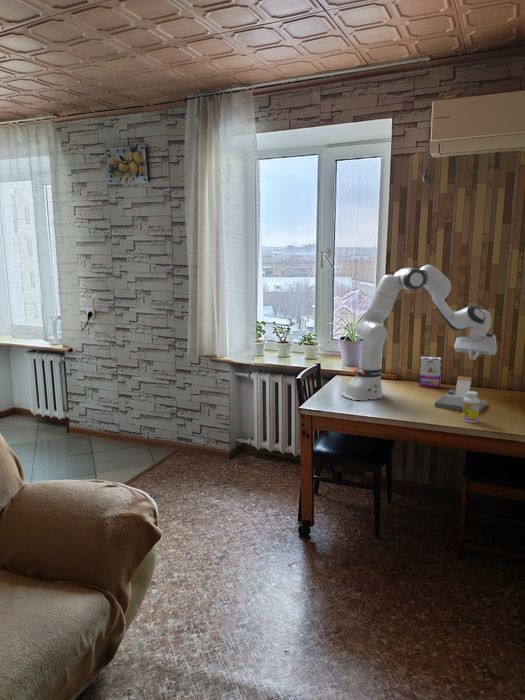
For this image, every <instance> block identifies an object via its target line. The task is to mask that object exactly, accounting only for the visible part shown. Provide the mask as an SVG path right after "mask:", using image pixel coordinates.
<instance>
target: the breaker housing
mask: <svg viewBox="0 0 525 700" xmlns="http://www.w3.org/2000/svg"><path fill="white" fill-rule="evenodd" d="M455 391H456V389H449V390H448V391H447V392H448V393H445V394H443V396H441V397H440V398H439V399H438V400H436V401H435V402H434V407H436V408H442V409H447V410H454V411H461V412H463V399H464V398H465V397H463V396H456V395H455ZM479 400H480V399H479ZM486 406H487V400H480V404H479V414H480V413H481V412H482V411H483V409H485V407H486Z"/></svg>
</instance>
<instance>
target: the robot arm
mask: <svg viewBox="0 0 525 700" xmlns="http://www.w3.org/2000/svg"><path fill="white" fill-rule="evenodd" d="M422 287H424V288H425V289H426V291H427V292H429V294H430V295H431V296H430V300H431V303H432V304H433V306H434V307H435V308H436V310H437V311H438V312H439V313H440V315H441V317H442V318H443V319H444V321H445V322H446V324H447V326H448V327H449V328H450V329H451V330H452V331H455V332H458V331H461V330H463V329H465V328H469V327H470V330H469V335H468V336H466V335H459V336H457V337H455V338H456V339H455V343H454V346H453V348H454V351H455V352H457V353H458V352H459V353H468V355H469V356H468V357H469V360H473V361H474V360H477V358H478V357H479V356H480V355H489V356H490V355H491V356H495V355H497V351H498V348H497V346H498V345H497V337H496V334H494V333H490V332H489V330H490V329H491V326H492V325H491V324H492V315H491V312H490V311H488V310H486V309H481V308H479V307H477V306H475V305H468V306H467V307H464V308H461V309H459V310H457V311H453V310H452V309H451V307H450V306H449V304H448V303H447V302H446V300H445V299H446V298H447V297H448V296H449V295H450V293H451V290H452V283H451V281H450V279H449V278H448V277H447V276H446V275H445V274H444V273H443V272H441V271H440V270H439V269H438V268H436V267H435V266H433V265H432V264H425V265H423V266H421V267H420V268H413V267H401V268H398V269H397V270H396V271H395V272H394V273H393V274H385V275H383V276H382V278H381V279H380V281H379V283H378V284H377V286H376V289H375V291H374V294H373V296H372V299H371V301H370V304H369V306H368V307H367V310H366V311H365V313H364V315H362V316H363V317H361V320H360V321H359V322H358V323H357V325H356V327H355V331H356V334H357V336H358V337H359V338H360V339H362V340H363V341H362V347H361V350H360V352H359V364H358V365H359V367H358V369H356V368H353V369H352V373H353V374H354V373H355V376H354V377H353V378H352V379H351V380H350V381H349V382H348V383H347V384H346V385H345V391H343V392H341V395H342V396H341V395H340V396H341V397H343V396H344V397H343V398H345V397H346V398H345V399H347V398H348V400H351V399H352V401H355V400H361V401H369V400H368V399H370V400H377V399H378V398H379V399H383V398H384V392H383V387H382V379H381V378H382V375H383V374H382V373H383V372H382V370H383V369H382V355H383V354H382V352H383V350H384V349H383V348H384V345H385V342H386V340H387V338H388V330H387V328H386V327H385V326H384V325H383V323H384V322H385V320H386V319H387V317H388V316H389V315H390V314H391V312H392V309H393V307H394V305H395V302H396V300H397V297H398V294H399V293H400V291H401V290H402V289H404V290H409V291H410V290H411V291H415V290H418V289H420V288H422ZM379 399H378V400H379Z"/></svg>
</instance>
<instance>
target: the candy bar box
mask: <svg viewBox="0 0 525 700" xmlns="http://www.w3.org/2000/svg"><path fill="white" fill-rule="evenodd" d="M419 359H420V360H419V361H420V362H419V383H418V384H419V385H418V386H419V387H421V386H426V387H425V388H434V387H439V388H438V389H440V388H441V382H442V362H443V361H442V360H443V359H442V357H440V356H439V357H436V356H435V357H434V356H420V358H419Z"/></svg>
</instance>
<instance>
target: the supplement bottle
mask: <svg viewBox="0 0 525 700" xmlns="http://www.w3.org/2000/svg"><path fill="white" fill-rule="evenodd" d="M478 396H479V393H478V392H477V391H472V390H470V391H467V392H466V397H465V398H464V399H463V411H461V412H462V413H461V416H462V417H461V420H462V421H463V422H466V423H469V424H470V423H471V424H472V423H474V424H475V423H478V422H479V416H480V415H479V414H480V413H479V404H480V398H478Z"/></svg>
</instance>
